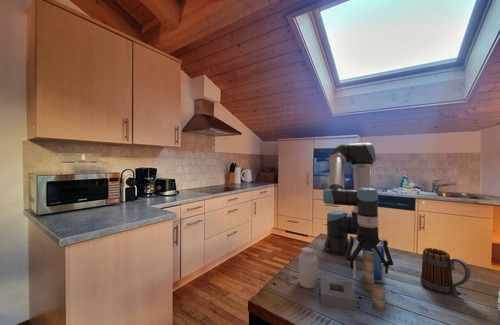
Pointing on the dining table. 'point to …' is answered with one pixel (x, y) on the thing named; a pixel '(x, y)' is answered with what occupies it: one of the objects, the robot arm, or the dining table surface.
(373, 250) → the beer can
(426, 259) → the mug
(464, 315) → the dining table surface
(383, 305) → the short dowel
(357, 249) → the robot arm
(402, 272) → the dining table surface
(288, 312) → the dining table surface
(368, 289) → the tall dowel
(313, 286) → the pill bottle
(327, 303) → the socket block
